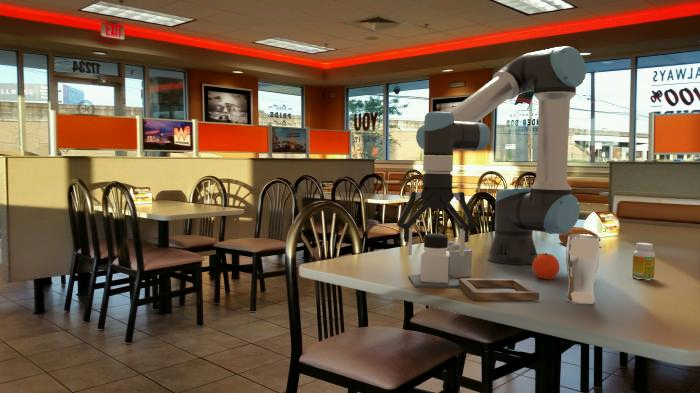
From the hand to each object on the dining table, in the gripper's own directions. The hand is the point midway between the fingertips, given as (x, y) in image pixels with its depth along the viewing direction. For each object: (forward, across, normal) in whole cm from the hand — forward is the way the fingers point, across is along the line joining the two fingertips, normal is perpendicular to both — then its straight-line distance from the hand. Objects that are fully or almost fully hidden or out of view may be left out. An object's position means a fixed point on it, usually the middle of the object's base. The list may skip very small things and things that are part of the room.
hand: (435, 254), depth 148 cm
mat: (+7, 0, 0) cm, 7 cm away
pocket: (+7, -13, +11) cm, 18 cm away
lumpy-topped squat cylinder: (+7, -6, -12) cm, 16 cm away
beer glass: (+7, -30, +19) cm, 36 cm away
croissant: (+8, -68, -69) cm, 97 cm away
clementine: (+7, -31, -6) cm, 32 cm away
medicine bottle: (+7, 0, 0) cm, 7 cm away
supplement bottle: (+7, -59, -7) cm, 60 cm away
